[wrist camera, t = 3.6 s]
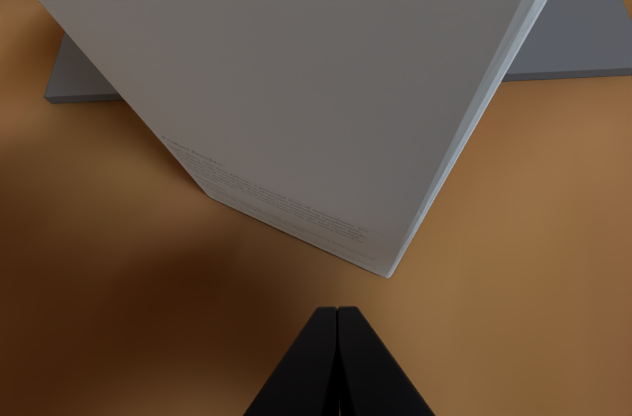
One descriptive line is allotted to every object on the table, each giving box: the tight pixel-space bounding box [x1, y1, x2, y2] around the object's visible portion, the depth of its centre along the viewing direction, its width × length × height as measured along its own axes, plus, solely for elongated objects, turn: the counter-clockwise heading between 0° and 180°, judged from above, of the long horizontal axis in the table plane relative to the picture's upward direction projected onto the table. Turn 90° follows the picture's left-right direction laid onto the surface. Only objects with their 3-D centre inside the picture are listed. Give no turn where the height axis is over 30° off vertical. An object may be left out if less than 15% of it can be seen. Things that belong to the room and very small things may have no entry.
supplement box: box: [38, 0, 547, 278], centre depth 10 cm, size 9×9×15 cm
